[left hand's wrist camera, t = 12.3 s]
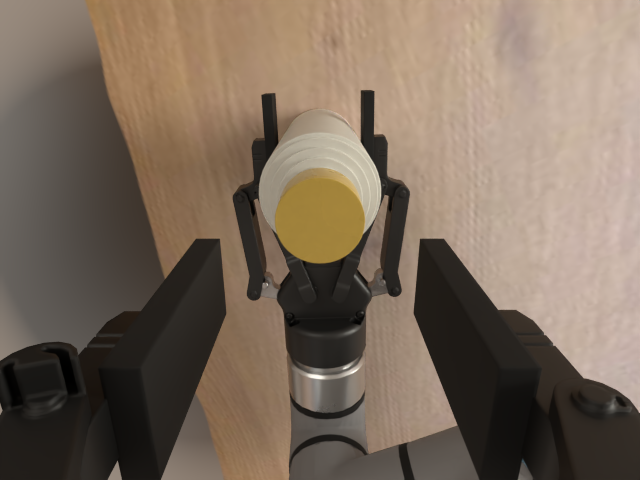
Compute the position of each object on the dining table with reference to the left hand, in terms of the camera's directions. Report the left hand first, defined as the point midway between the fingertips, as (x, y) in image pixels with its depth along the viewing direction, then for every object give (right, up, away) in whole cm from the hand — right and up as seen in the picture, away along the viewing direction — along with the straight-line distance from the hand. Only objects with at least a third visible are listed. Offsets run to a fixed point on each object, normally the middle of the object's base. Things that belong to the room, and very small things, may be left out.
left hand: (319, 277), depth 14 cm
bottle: (0, +10, +26) cm, 28 cm away
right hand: (0, +12, +19) cm, 23 cm away
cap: (0, +2, +6) cm, 6 cm away
